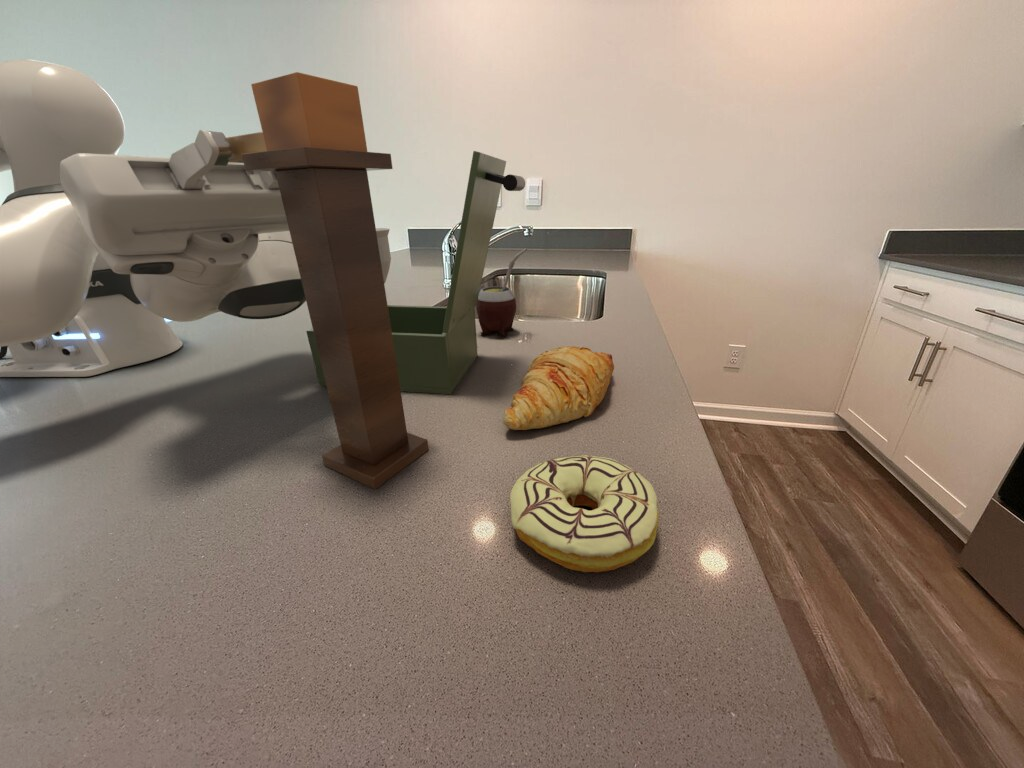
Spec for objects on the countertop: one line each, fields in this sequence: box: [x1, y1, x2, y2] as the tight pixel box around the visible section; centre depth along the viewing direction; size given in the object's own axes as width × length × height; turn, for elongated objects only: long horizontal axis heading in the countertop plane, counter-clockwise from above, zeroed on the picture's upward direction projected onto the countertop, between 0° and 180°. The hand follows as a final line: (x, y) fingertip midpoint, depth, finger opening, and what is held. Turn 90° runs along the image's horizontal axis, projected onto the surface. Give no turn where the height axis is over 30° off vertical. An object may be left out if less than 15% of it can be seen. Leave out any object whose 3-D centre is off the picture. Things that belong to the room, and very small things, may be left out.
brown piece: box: [225, 71, 368, 163], centre depth 30 cm, size 14×4×4 cm, turn 59°
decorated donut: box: [509, 454, 660, 574], centre depth 30 cm, size 10×11×4 cm
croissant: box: [503, 345, 615, 431], centre depth 48 cm, size 21×10×8 cm, turn 141°
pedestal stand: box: [242, 147, 430, 490], centre depth 34 cm, size 7×7×26 cm
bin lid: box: [443, 150, 526, 334], centre depth 50 cm, size 19×14×4 cm
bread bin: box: [306, 304, 478, 395], centre depth 58 cm, size 19×14×8 cm
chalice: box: [376, 227, 392, 284], centre depth 72 cm, size 7×7×18 cm
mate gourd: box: [475, 247, 528, 339], centre depth 71 cm, size 8×8×15 cm
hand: (249, 142), depth 32 cm, fingers open, 3 cm apart
